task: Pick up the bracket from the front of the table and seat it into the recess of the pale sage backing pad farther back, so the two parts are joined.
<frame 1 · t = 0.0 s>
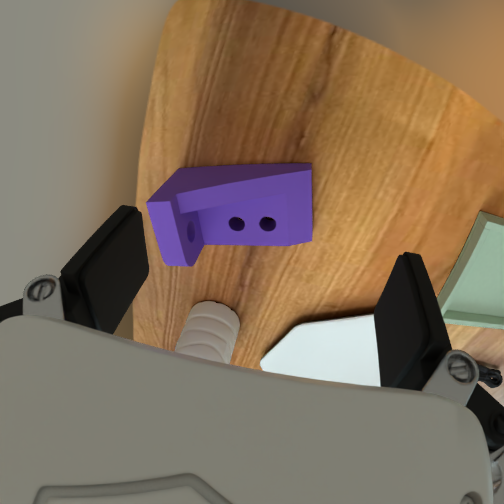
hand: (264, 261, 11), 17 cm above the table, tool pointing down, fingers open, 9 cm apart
plate: (349, 365, 42), on the table
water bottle: (213, 310, 39), on the table
computer mouse: (448, 390, 43), on the table
bracket: (246, 198, 29), on the table
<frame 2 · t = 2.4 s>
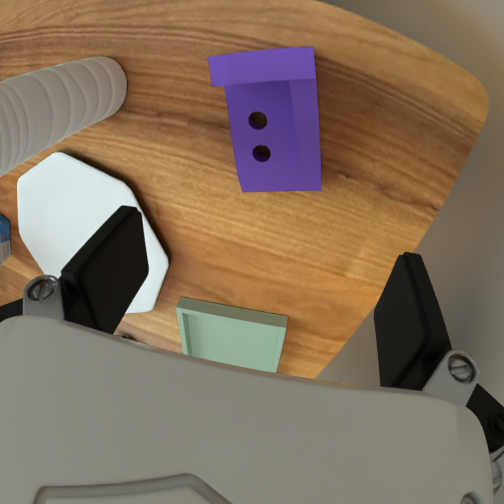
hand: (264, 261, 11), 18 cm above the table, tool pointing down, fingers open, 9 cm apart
plate: (86, 239, 37), on the table
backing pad: (231, 346, 44), on the table
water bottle: (111, 83, 25), on the table
ink box: (2, 231, 41), on the table
bracket: (277, 119, 25), on the table
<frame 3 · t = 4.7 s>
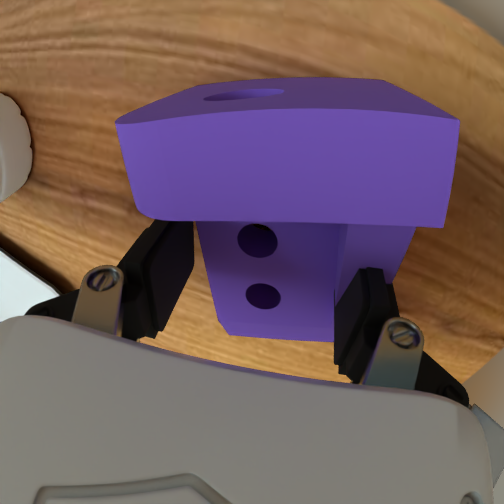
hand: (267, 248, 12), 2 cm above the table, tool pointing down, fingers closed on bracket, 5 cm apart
plate: (33, 325, 26), on the table
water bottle: (13, 135, 14), on the table
bracket: (296, 218, 14), on the table, touching gripper
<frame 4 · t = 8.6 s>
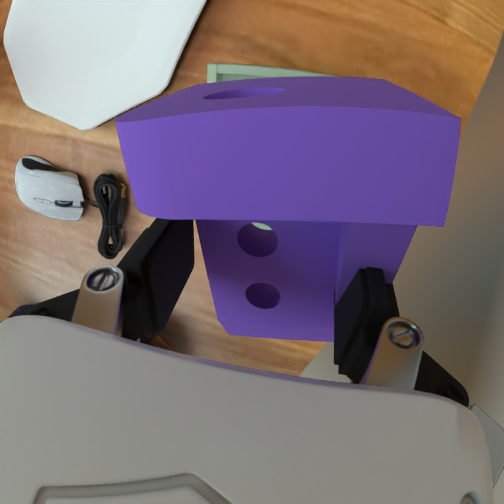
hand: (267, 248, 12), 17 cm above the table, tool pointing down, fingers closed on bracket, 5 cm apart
plate: (90, 11, 21), on the table
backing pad: (285, 161, 27), on the table
computer mouse: (68, 190, 33), on the table
bracket: (296, 218, 14), point 15 cm above the table, touching gripper
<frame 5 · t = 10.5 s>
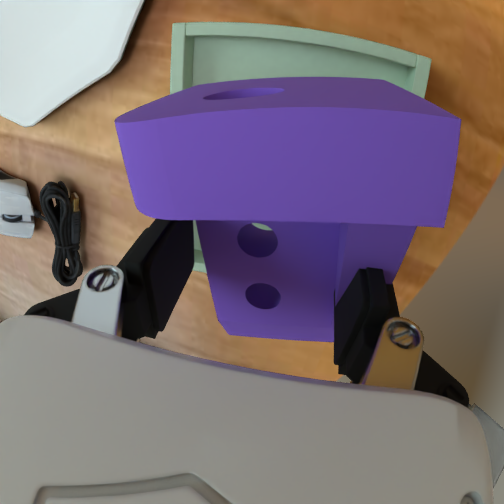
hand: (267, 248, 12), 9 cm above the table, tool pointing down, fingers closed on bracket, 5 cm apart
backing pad: (286, 162, 19), on the table
computer mouse: (21, 201, 25), on the table
bracket: (296, 218, 14), point 7 cm above the table, touching gripper
when the fingers open (3 cm above the table, at t = 12.4 s): bracket stays where it is, resting on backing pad.
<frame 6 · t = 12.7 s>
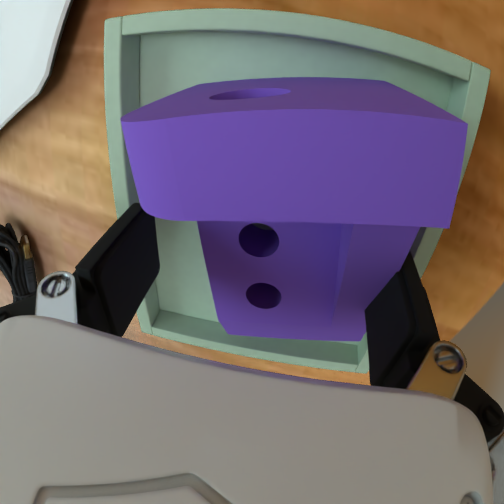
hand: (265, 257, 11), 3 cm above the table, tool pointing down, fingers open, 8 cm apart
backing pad: (275, 211, 14), on the table
bracket: (296, 218, 14), resting on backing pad
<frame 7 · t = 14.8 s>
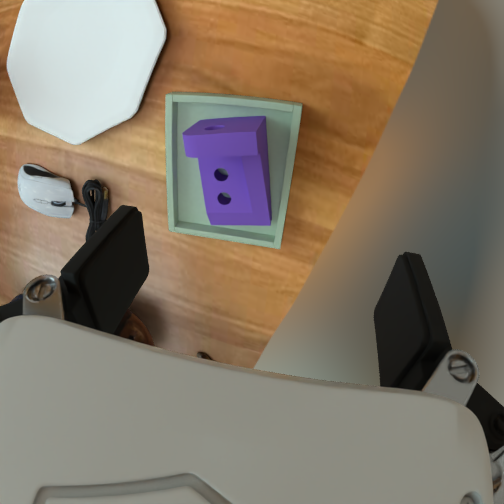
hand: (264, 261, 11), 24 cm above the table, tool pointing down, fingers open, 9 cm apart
plate: (77, 46, 27), on the table
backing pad: (229, 168, 35), on the table
vase: (123, 310, 53), on the table
oyster shell: (206, 366, 58), on the table
computer mouse: (62, 193, 40), on the table
bracket: (237, 170, 34), resting on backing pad
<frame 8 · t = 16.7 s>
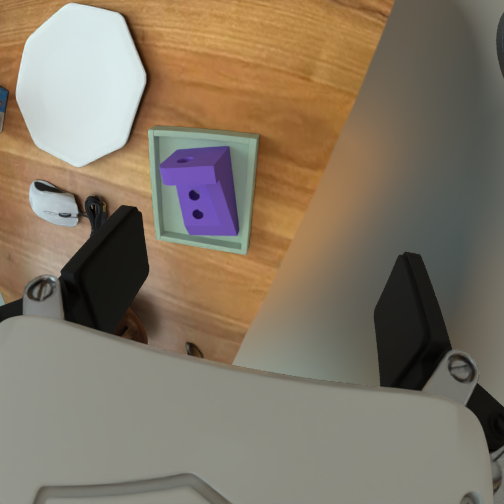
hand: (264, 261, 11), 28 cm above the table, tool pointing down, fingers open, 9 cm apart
plate: (75, 84, 35), on the table
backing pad: (203, 188, 42), on the table
vase: (121, 305, 61), on the table
oyster shell: (194, 355, 66), on the table
computer mouse: (68, 205, 48), on the table
bracket: (209, 190, 42), resting on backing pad
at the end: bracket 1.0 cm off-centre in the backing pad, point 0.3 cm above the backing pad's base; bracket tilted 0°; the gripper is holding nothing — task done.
